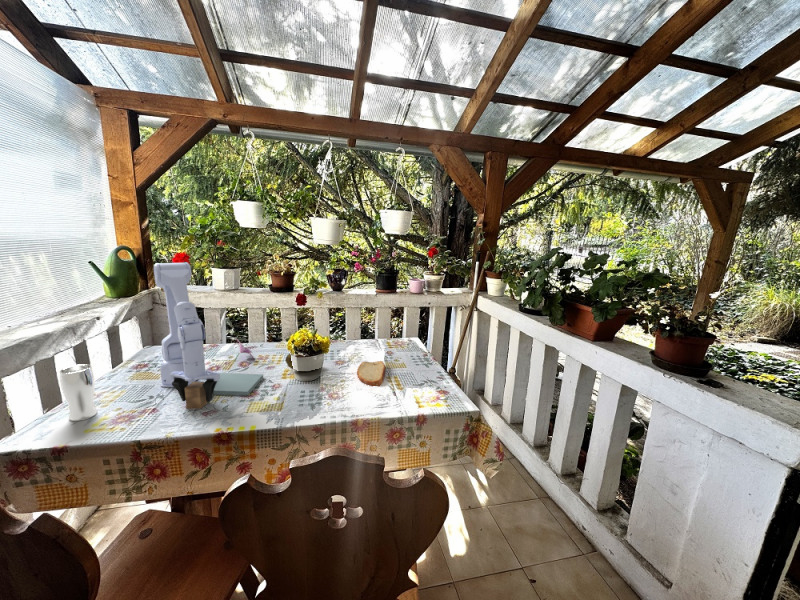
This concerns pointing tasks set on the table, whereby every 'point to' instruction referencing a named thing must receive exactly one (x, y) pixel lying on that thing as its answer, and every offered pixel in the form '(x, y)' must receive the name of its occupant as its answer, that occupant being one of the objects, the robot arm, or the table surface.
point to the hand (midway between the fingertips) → (197, 400)
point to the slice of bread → (371, 373)
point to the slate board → (236, 384)
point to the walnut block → (195, 395)
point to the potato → (289, 361)
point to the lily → (243, 350)
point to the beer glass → (79, 391)
